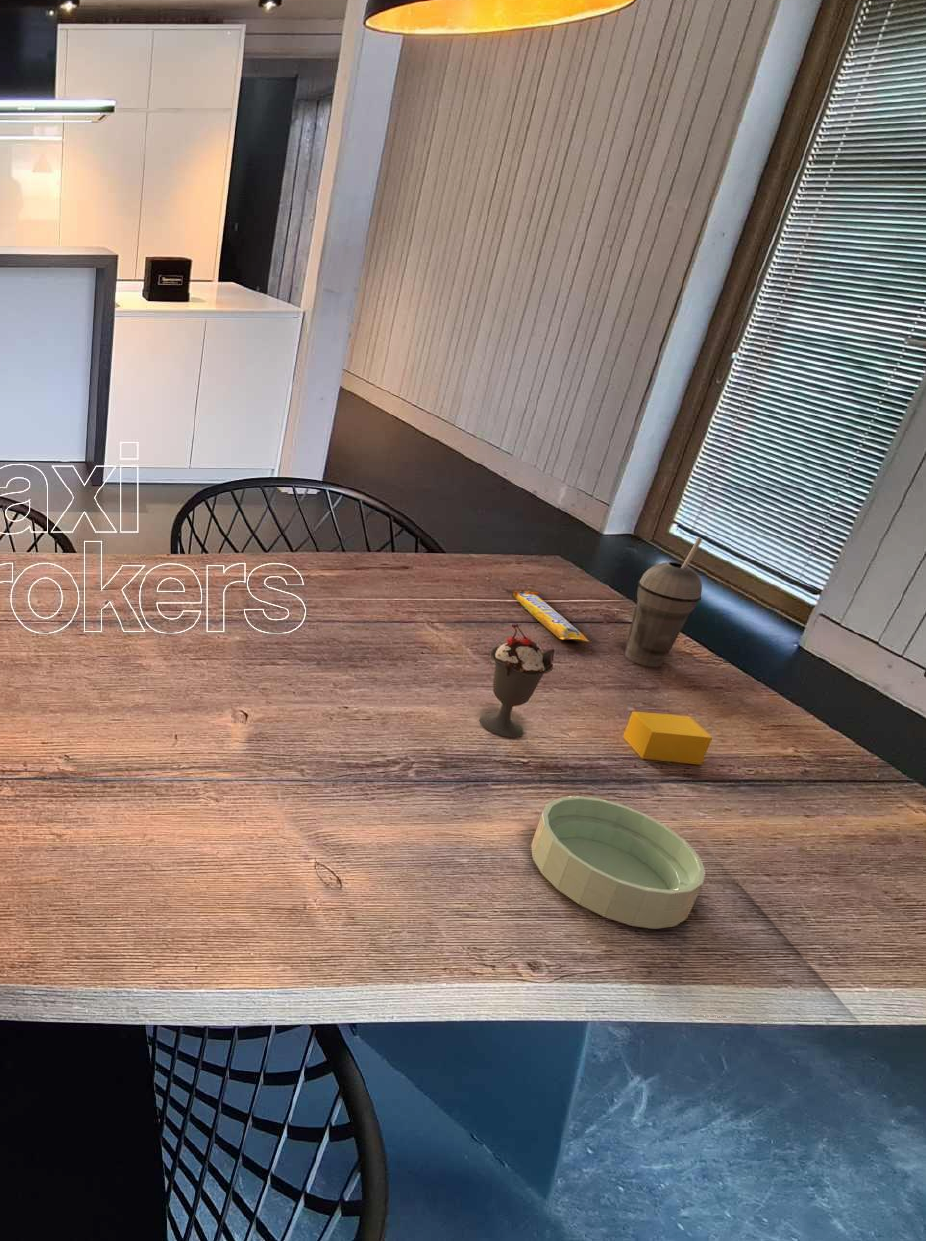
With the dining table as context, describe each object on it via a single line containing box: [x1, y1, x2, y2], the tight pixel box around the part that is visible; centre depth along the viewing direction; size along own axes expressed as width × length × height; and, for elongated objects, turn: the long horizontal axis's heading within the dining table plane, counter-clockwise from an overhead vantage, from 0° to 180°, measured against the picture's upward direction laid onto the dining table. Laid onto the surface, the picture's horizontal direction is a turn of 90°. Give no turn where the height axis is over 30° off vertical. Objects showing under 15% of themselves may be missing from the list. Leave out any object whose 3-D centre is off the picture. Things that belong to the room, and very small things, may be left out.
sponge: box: [622, 710, 713, 766], centre depth 101 cm, size 6×4×4 cm
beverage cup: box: [624, 537, 703, 668], centre depth 118 cm, size 7×7×20 cm
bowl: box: [530, 795, 707, 930], centre depth 81 cm, size 13×13×5 cm
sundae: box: [479, 623, 555, 739], centre depth 103 cm, size 7×7×15 cm
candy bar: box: [512, 590, 592, 643], centre depth 132 cm, size 17×4×2 cm, turn 174°
